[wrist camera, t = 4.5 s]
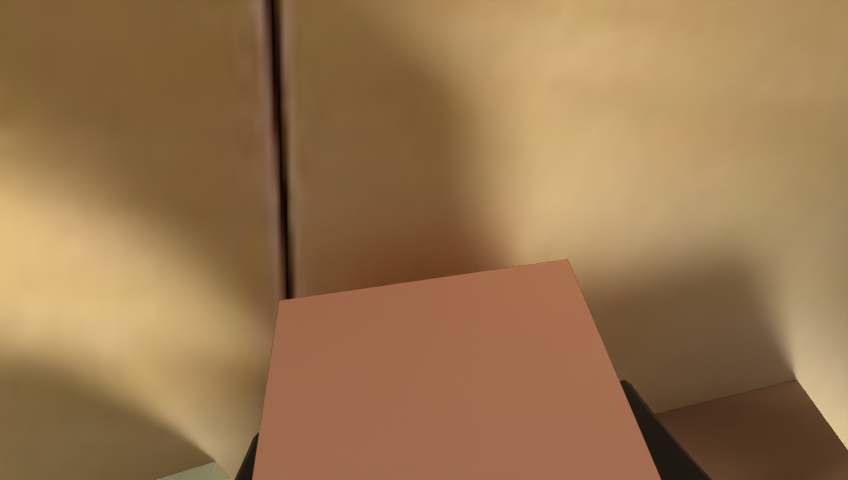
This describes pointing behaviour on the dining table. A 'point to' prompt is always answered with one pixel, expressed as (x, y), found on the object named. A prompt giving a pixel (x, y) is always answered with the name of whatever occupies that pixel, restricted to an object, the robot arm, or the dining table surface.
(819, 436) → the walnut cube
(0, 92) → the dining table surface
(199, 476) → the sage cube
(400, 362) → the terracotta cube
